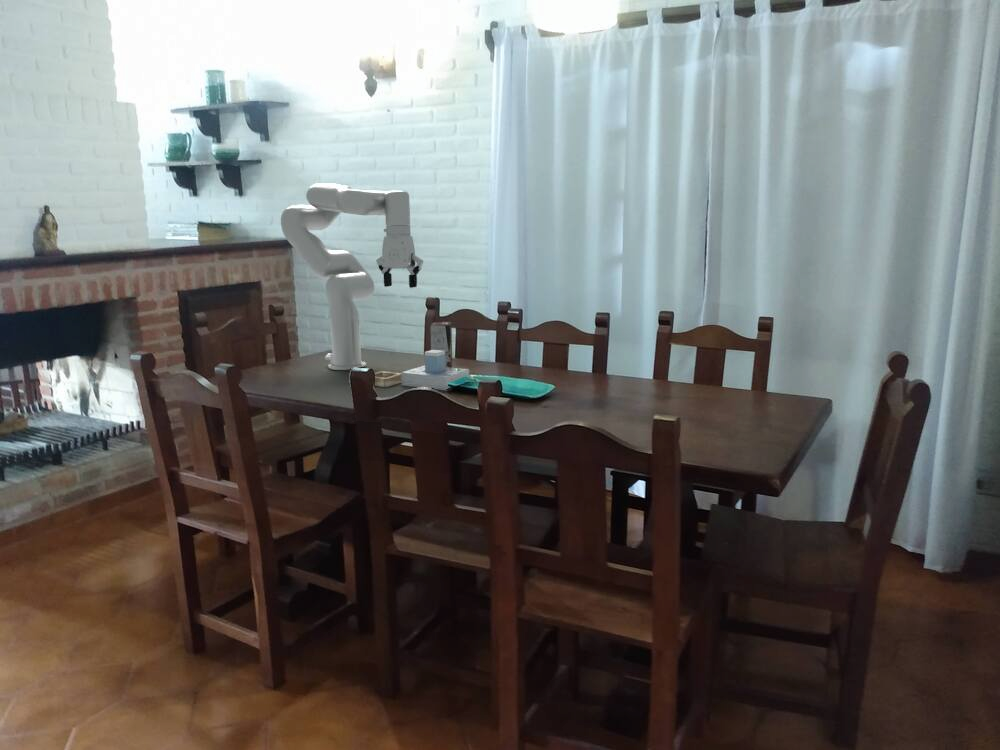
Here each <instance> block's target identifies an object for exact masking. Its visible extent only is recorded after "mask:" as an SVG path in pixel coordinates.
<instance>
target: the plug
mask: <svg viewBox="0 0 1000 750" xmlns="http://www.w3.org/2000/svg"><path fill="white" fill-rule="evenodd" d="M424 365H425V372H427V373H437V374H439V373H442V372H445V351H442V350H431V349H430V350H426V351H424Z"/></svg>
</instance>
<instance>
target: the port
mask: <svg viewBox="0 0 1000 750" xmlns="http://www.w3.org/2000/svg"><path fill="white" fill-rule="evenodd" d="M400 373H401V380H402V382H401V386H405V387H413V388H420V386H425V387H431V388H434V389H433V390H439V391H447V390H446V389H448V388H449V386H448V383H450V382H452V381H455V380H458V379H460V378H462V377H466V376H469V377H470V368H460V367H453V368H451V367H445V372H442V373H439V374H437V373H427V372H425V364H424V365H421V366H418V367H415V368H411V369H407V370H405V371H402V372H400Z"/></svg>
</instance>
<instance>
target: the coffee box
mask: <svg viewBox="0 0 1000 750" xmlns="http://www.w3.org/2000/svg"><path fill="white" fill-rule="evenodd" d="M452 323H453V322H452V321H439V322H436V321H435V322H434V321H433V322H432V323H431V324H430V328H429V329H430V350H442V351H445V367H451V368H454V367H453V337H452V336H453V334H452V333H453V331H452V325H453V324H452Z"/></svg>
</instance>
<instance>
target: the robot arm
mask: <svg viewBox="0 0 1000 750" xmlns="http://www.w3.org/2000/svg"><path fill="white" fill-rule="evenodd" d="M409 194H410V193H409V192H408V191H407V190H406V191H405V190H389V191H388V190H387V191H386V190H366V189H365V190H362V189H361V190H360V189H352V188H351V187H350V186H348V185H341V184H338V183H321V182H319V183H315V184H313V185H311V186H310V187H308V189H307V191H306V195H305V197H306V200H307V202H308V204H297V205H296V204H295V205H291V206H288V207H286V208H285V209H284V210H283V211H282V212H281V217H280V227H281V231H282V233H283V236H284V237H285V239H286V241H288V243H289V244H290V245H291V246H292V247H293V249H294V250H295V251H296V252H297V253H298V254H299V255H300V256H301V257H302V259H303V260H304V261H305V263H306V264H307V265H308V267H310V269H311V270H312V271H313V273H314V274H315V275H316V276H317V277H318V278H319V279H322V280H327V281H326V283H325V287H324V289H325V295H326V297H327V298H326V299H327V303H328V308H329V309H328V310H329V318H330V320H329V321H330V332H331V333H330V335H331V352H332V353H327V354H326V355H325V357H324V360H326V361H327V360H328V361H330V363H329V364H328V365H327V366H328V369H330V370H335V371H351V370H350V369H351V368H353V367H364V366H365V367H367V363H366V362H365V361H362V348H361V345H362V344H361V329H360V325H361V324H360V315H359V311H358V308H357V306H356V305H355V301H356V302H357V301H364V300H367V299H370V298H371V297H372V295H373V294H374V293H375V284H374V280H373V278H372V276H371V275H370V274H369V272H368V271H367V270H366V269H365V268H364V266H363V265H362V263H360V261H359V260H358V259H357V257H356V256H354V254H352V253H351V252H349V251H347V250H343V249H342V250H341V249H340V250H337V249H336V250H333V249H329V247H327V246H326V245H325V244H324V242H323V241H322V240H321V239H320V238H319V237H318V236H317V235H316V234H314V233H312V232H311V231H322V230H325V229H327V228H329V227H330V226H331V225H332V224H333V222H334V221H335V220H336V219H337V217H339V215H341V213H344V214H350V215H357V216H385V227H384V228H383V232H384V233H385V235H386V236H384V237H383V241H382V250H381V251H382V253H381V256H380V257H378V258H377V259H376V261H375V262H376V264H377V266H378V269H379V270H380V272H381V274H382V275H383V286H384V287H385V288H387V287H391V286H392V285H393V280H392V273H391V271H392V270H393V269H397V270H398V269H399V270H401V269H406V270H407V271H408V273H409V275H408V287H409V289H410V288H413V289H414V288H417V286H418V274H419V272H420V271H421V270H422V266H423V264H424V260H423V259H422V258H420V257H419V256H417V255H416V249H415V242H414V239H413V236H412V233H411V214H410V213H411V211H410V210H411V207H410V195H409ZM359 365H361V366H359ZM365 367H364V368H365Z"/></svg>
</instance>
